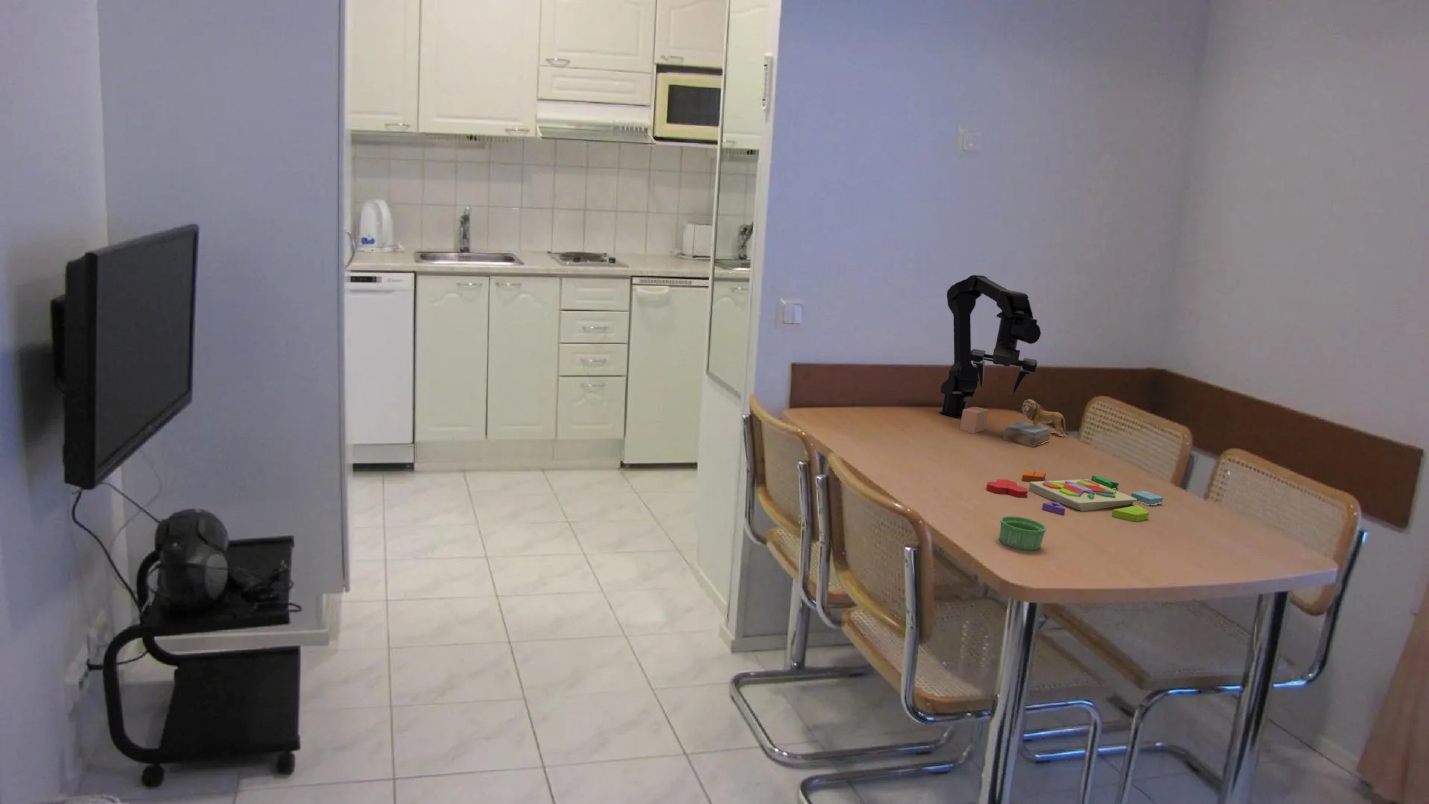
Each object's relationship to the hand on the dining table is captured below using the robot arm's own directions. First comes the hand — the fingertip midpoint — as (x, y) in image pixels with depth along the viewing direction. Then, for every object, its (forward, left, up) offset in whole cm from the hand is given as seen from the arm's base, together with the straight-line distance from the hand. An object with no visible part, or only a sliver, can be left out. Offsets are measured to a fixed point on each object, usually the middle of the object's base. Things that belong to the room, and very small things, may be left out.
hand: (997, 389), depth 330 cm
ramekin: (+46, -94, -13) cm, 106 cm away
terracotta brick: (-4, -3, -13) cm, 14 cm away
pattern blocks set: (+42, -46, -13) cm, 64 cm away
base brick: (+11, 0, -12) cm, 17 cm away
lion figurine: (+9, +17, -13) cm, 23 cm away
